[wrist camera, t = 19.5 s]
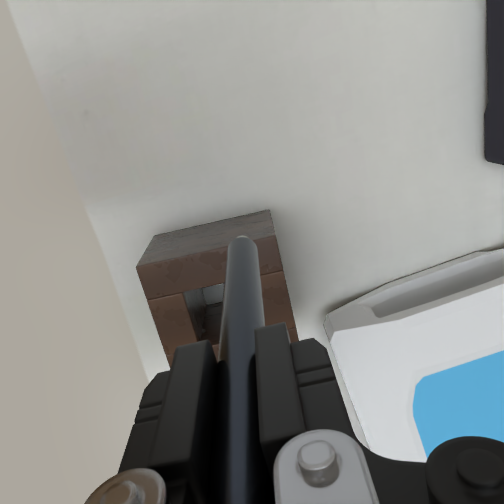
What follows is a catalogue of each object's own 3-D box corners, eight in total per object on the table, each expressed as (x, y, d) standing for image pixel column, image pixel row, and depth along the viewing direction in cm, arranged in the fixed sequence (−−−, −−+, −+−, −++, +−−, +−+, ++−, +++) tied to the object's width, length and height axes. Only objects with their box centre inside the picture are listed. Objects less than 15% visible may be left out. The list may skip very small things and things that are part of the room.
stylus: (222, 241, 19) (177, 592, 6) (243, 223, 19) (251, 546, 6) (240, 261, 19) (239, 639, 6) (262, 244, 19) (311, 597, 6)
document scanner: (399, 522, 49) (420, 582, 43) (317, 307, 40) (330, 345, 34) (595, 464, 47) (646, 517, 41) (555, 222, 38) (613, 247, 32)
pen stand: (153, 235, 38) (135, 267, 31) (269, 209, 37) (275, 235, 31) (185, 336, 41) (175, 384, 34) (292, 313, 40) (302, 357, 34)
